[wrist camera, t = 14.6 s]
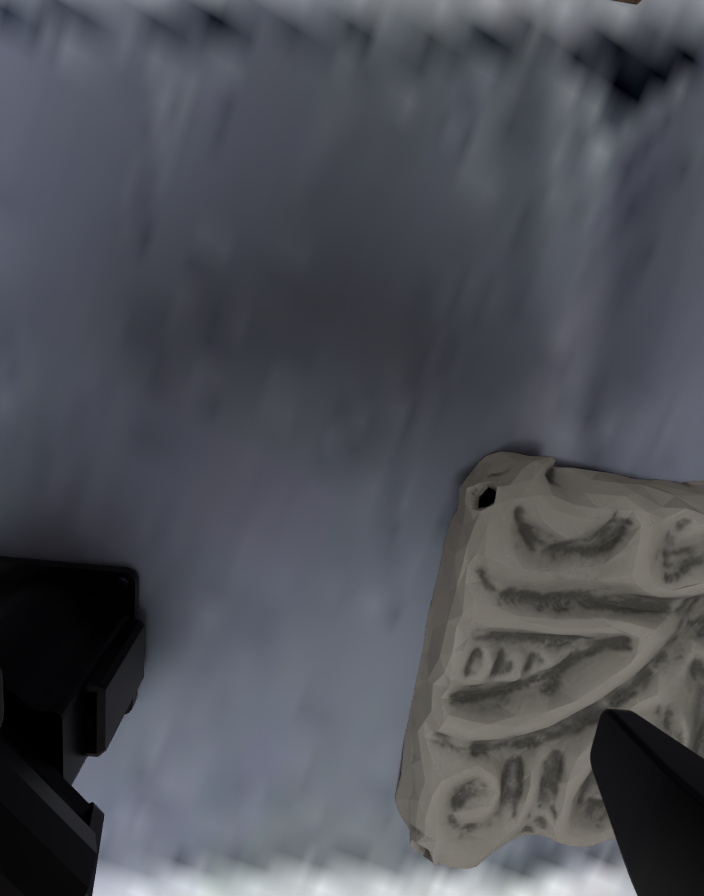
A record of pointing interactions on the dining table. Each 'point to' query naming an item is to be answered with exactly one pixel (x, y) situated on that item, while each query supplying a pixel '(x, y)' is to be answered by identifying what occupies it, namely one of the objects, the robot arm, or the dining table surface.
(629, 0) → the walnut tray
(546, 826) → the wall plaque
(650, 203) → the dining table surface
